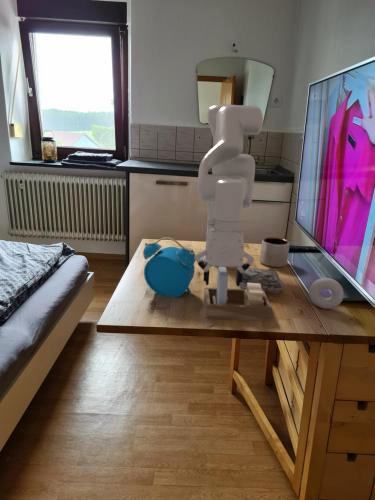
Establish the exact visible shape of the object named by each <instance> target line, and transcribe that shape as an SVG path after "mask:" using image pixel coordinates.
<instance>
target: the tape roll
mask: <svg viewBox="0 0 375 500" xmlns="http://www.w3.org/2000/svg"><path fill="white" fill-rule="evenodd" d="M322 290H329V291H330V292H331V295H330V296H329V297H324V296H322V295H321V292H322ZM344 293H345V292H344V289H343V287H342V285H341V284H340V283H339V282H338V281H336V280H335V279H332V278H330V277H321V278H318V279H316V280H315V281H313V283H312V284H311V285H310V287H309V289H308V296H309V298H310V299H309V300H310V301H311V302H312V303H313V305H315V306H316V307H318V308H320V309H323V310H325V309H327V310H330V309H333V308H335V307H338V306H339V305H340V304H341V302H343V299H344Z"/></svg>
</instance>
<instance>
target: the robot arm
mask: <svg viewBox="0 0 375 500" xmlns="http://www.w3.org/2000/svg"><path fill="white" fill-rule="evenodd" d="M207 121H208V126H209V127H208V128H209V130H210V132H211V137H212V139H213V144H212V145H213V147H212V148H211V149H210V150H209V151H208V152H207V153H206V154H205V155H204V156H203V158H202V160H201V162H200V163H199V168H198V177H197V193H198V194H197V195H198V197H199V198H200V200H203V201H207V202H206V203H207V204H206V205H207V217H206V218H207V219H206V221H207V222H206V233H205V234H206V235H205V238H206V239H205V249H203V250H201V251H200V252H198V253H196V254H195V256H194V258H195V263H197V264H198V266H199V267H200V268H201V269H202V271H203V282H205V285H206V286H208V285H209V283H210V282H209V281H210V269H211V268H212V267H217V268H218V267H226V268H237V270H236V275H235V284H236V287H239V286H240V282H241V283H242V275H243V273H244V271H245V270H247V269H248V268H251V265H252V264H253V263H254V261H255V258H254V257H253V256H252V255H251V254H250V253H248V252H246V251H245V250H244V249H245V238H244V237H245V236H244V231H243V230H242V229H241V228H242V227H241V225H242V215H243V209H247V208H250V206H251V204H252V202H253V194H254V182H255V174H256V161H255V158H254V157H253V156H252V155H250V154H247V153H243V150H244V135H251V136H252V135H254V136H256V135H259V134H260V133H261V131H262V129H263V125H264V116H263V112H262V110H261V108H260V107H259V106H255V105H241V104H240V105H239V104H238V105H237V104H214V105H212V106H209V108H208V111H207ZM210 170H211V172H212V173H211V174H209V171H210ZM244 258H245V259H246V262H244Z"/></svg>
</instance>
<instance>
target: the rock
mask: <svg viewBox="0 0 375 500" xmlns="http://www.w3.org/2000/svg"><path fill="white" fill-rule="evenodd" d="M247 283H260V285H261V288H262V290H264V292H265V294H274V295H277V294H279V293H281V290H282V289H283V288H284V287H285V283H283V281H282V280H281V278H280V277H279V274H278V272H277V270H276V269H274V268H273V267H269V268H268V269H267V270H266V269H262V268H258V267H249V268H248V269H247V270H245V271H244V273H243V275H242V283H241V282H240V286H238V287H239V288H238V289H247Z"/></svg>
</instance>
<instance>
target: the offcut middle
mask: <svg viewBox="0 0 375 500" xmlns="http://www.w3.org/2000/svg"><path fill="white" fill-rule="evenodd" d="M244 298H245V300H246V303H247V305H256V306H264V300H263V298H262V301H257V300H248V295H247V290H245V291H244Z"/></svg>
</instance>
